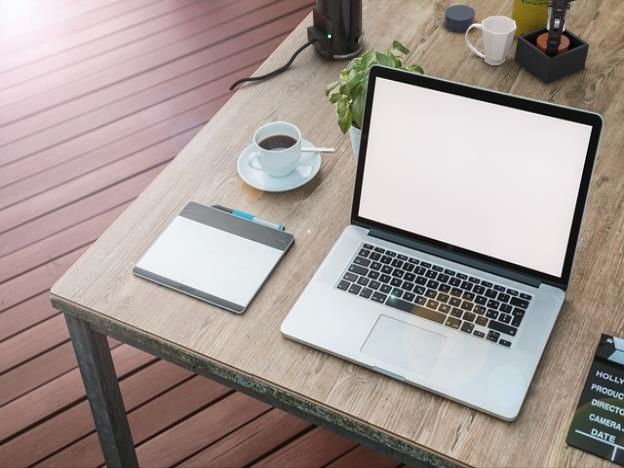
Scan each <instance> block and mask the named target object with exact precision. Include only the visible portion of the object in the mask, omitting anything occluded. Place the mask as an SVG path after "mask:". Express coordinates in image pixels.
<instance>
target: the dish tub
mask: <svg viewBox="0 0 624 468" xmlns="http://www.w3.org/2000/svg"><path fill="white" fill-rule="evenodd" d="M544 33H549V30H548V29H547V26H545V27H542V28H539V29H537V30H534V31H531V32H529V33H526V34H524V35H521V36H518V39H517V38H516V45H515V52H514V62H515V63H517V64H518V65H519V66H521V67H522V68H523V69H525V70H526V71H528V72H529V73H530V74H531V75H533V76H534V77H535V78H537V79H538V80H540V81H541V82H542V83H543V84H544V85H548V84H550V83H552V82H554V81H558V80H559V79H562V78H564V77H568V76H569V75H573V74H575V73H578V72H579V71H582V70H584V69H585V66H586V62H587V57H588V54H589V53H588V52H589V49H590V43H589V42H586V41H585V40H583V39H582V38H581V37H579V36H577V35H576V34H574V33H573V32H572V31H570V30H569V29H567V28H565V30H564V31H563V32H562V35H564V36H566V37H567V38H568V39H569V48H568V51H566V52H564V53H561V54H559V55H556V56H554V57H551V58H550V57H549V56H548V55H546V54H545V53H543V52H542V51H541V50H539V49H538V48H536V43H537V38H538V37H539V36H540V35H542V34H544Z"/></svg>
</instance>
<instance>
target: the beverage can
mask: <svg viewBox="0 0 624 468" xmlns="http://www.w3.org/2000/svg"><path fill="white" fill-rule="evenodd" d="M549 3H550V0H513V4H512V12H511V18H510V19H512V20H514V21H515V23H516V28H517V29H516V32H515V35H514V38H515V39H516V40H517V39H518V36H521V35H524V34H526V33H529V32H531V31H534V30H537V29H539V28H542V27H545V26H547V23H548V17H549V14H548V9H549Z"/></svg>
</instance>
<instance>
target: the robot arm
mask: <svg viewBox="0 0 624 468" xmlns="http://www.w3.org/2000/svg"><path fill="white" fill-rule="evenodd" d="M575 1H577V0H550V3H549V9H548V14H549V17H548V23H547V29H548V30H549V33H548V38H547V40H546V43H547V47H546V53H545V54H546V55H548V56H549V57H550V58H551V57H554V56H556V55H557V53H558V47H559V46H560V44H561V36H562V32H563V31H564V30H565V28H566V27H567V22H568V17H569V16H570V13H571V5H572V2H575ZM315 3H316V6H313V7H312V22H313V23H312V24H313V25H310V26H307V27H306V34H307V35H306V36H307V42H306V43H304V44H303V45H301V46H300V47H299V48H298V49H297V50H296V51H295V52H294V53H293V55H291V57H290V59H289V60H288V62H287V63H286V64H285V65H283V66H282V67H280V68H277V69H275V70H274V71H271V72H269V73H266V74H263V75H260V76H254V77H253V76H252V77H245V78H241V79H238V80H236V81H235V82H233V83H232V85H231V86H230V87H229V88H228V91H234V89H235V88H236V87H237V86H238V85H240V84H243V83H246V82H247V83H248V82H257V81H262V80H266V79H268V78H270V77H272V76H275V75H277V74H279V73H281V72H284V71H286V70H287V69H288V68H289V67H291V65H292V64H293V63H294V61H295V60H296V58H297V57H298V56H299V54H300V53H301V52H303V51H304V50H306V49H307V48H309V46H311V45H312V47H314V49H315V50H316V51H317V52H318V53H319V54H320V55H321V56H323V57H324V58H325V59H326V60H327V61H328V62H332V61H334V60H335V61H342V60H343V61H344V60H349V59H352V58H355V57H357V56H359V54H361V53H362V51H363V49H364V40H363V39H364V36H365V34H366V33H365V31H366V30H365V29H364V30H363V0H315ZM566 29H567V28H566ZM555 36H558V37H555Z"/></svg>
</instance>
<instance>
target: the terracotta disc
mask: <svg viewBox="0 0 624 468" xmlns="http://www.w3.org/2000/svg"><path fill="white" fill-rule="evenodd" d="M555 37H558V36H555ZM547 38H548V33H544V34H542V35H540V36H539V37H538V38H537V43H536V48H538V49H539V50H541V51H542V52H543V53H546V47H547V43H546V40H547ZM568 48H569V39H568V38H567V37H566V36H564V35H562V36H561V44H560V46H559V47H558V53H557V55H559V54H561V53H564V52H566V51H568Z"/></svg>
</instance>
